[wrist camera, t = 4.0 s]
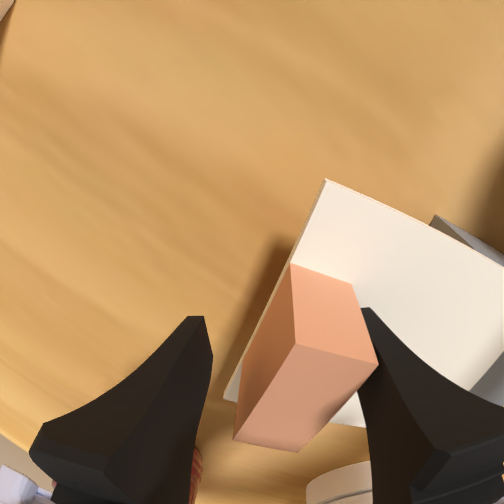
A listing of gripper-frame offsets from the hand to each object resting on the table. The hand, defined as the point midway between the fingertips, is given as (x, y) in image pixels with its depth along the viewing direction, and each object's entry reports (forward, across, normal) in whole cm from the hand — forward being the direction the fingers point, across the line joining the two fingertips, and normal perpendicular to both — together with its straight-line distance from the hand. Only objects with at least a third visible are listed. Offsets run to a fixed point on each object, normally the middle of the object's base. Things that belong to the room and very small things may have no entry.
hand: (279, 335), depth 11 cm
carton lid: (+1, -5, +3) cm, 6 cm away
